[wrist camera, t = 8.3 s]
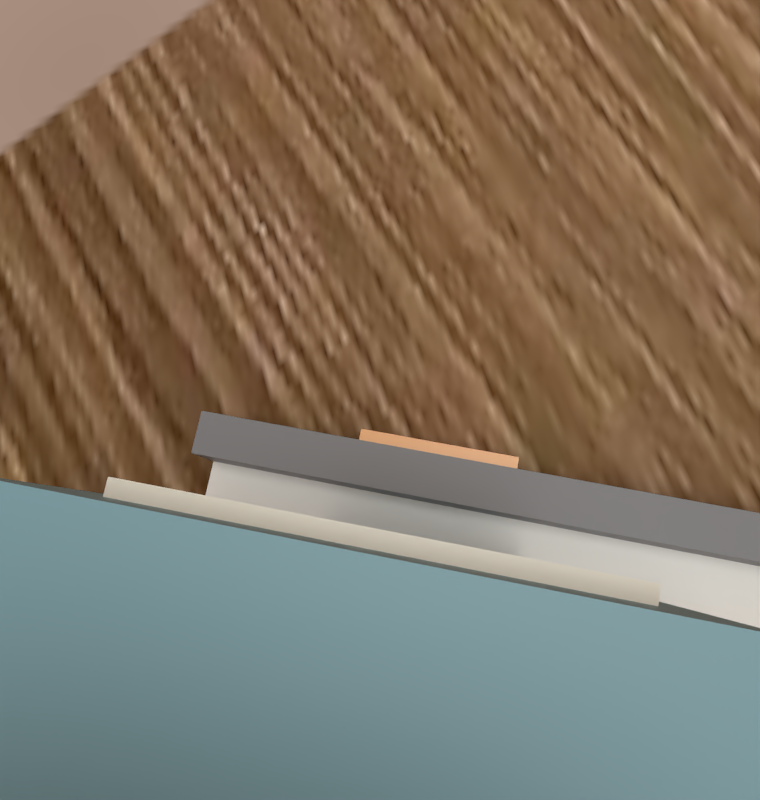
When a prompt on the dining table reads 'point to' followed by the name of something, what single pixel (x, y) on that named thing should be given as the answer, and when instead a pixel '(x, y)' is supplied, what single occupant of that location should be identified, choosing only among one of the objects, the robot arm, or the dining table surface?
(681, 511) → the white base plate
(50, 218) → the dining table surface
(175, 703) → the carton
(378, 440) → the ticket
